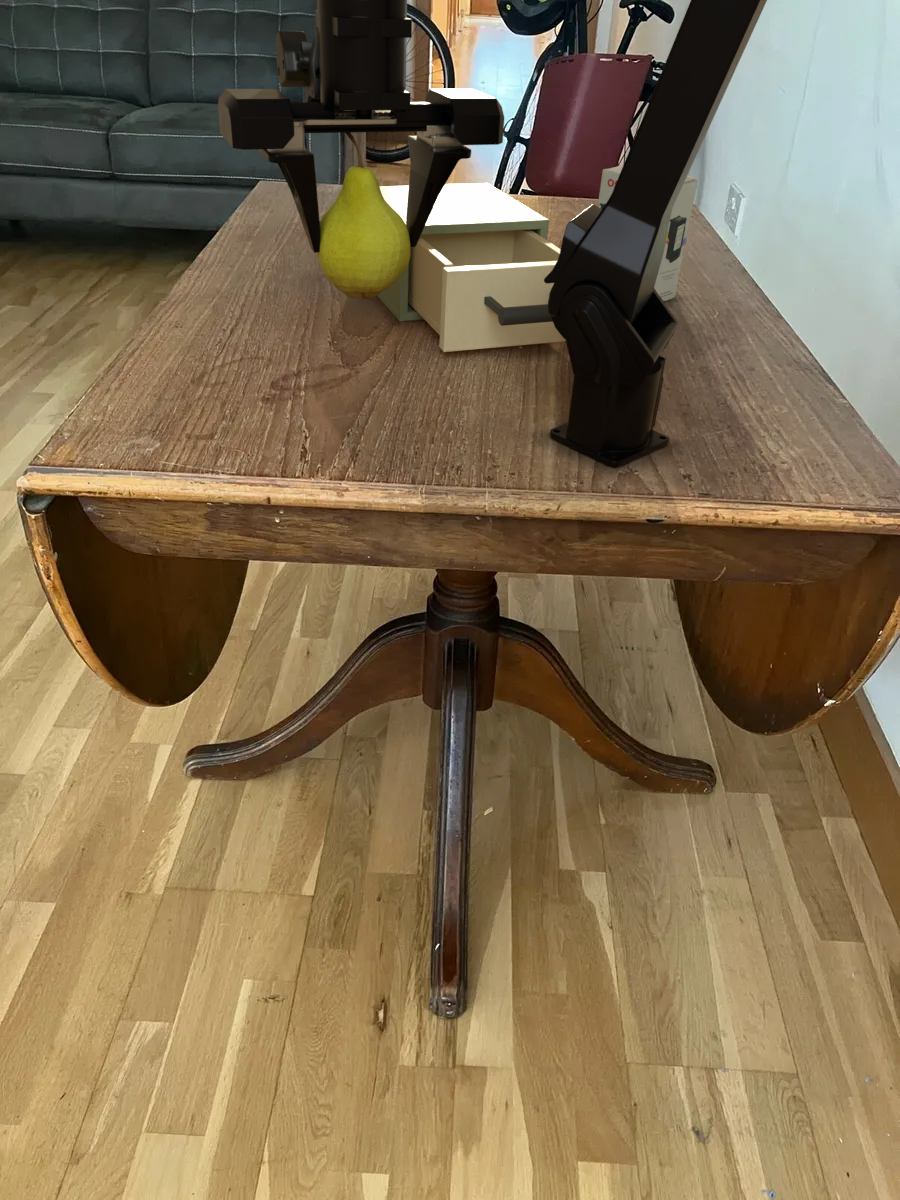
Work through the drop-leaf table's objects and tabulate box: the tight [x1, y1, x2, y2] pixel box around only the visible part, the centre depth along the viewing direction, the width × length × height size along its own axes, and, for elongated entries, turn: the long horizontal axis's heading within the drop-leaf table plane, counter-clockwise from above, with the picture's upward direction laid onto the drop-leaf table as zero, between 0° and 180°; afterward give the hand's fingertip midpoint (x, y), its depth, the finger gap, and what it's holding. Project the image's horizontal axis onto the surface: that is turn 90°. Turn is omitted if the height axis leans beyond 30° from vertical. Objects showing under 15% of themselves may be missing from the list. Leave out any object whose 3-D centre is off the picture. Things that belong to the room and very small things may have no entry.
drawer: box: [408, 230, 566, 353], centre depth 84 cm, size 19×13×7 cm
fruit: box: [316, 132, 410, 300], centre depth 67 cm, size 7×7×12 cm
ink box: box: [597, 164, 698, 302], centre depth 96 cm, size 9×5×12 cm, turn 45°
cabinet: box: [376, 182, 550, 322], centre depth 94 cm, size 16×15×9 cm
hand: (364, 248), depth 69 cm, fingers closed on fruit, 7 cm apart
